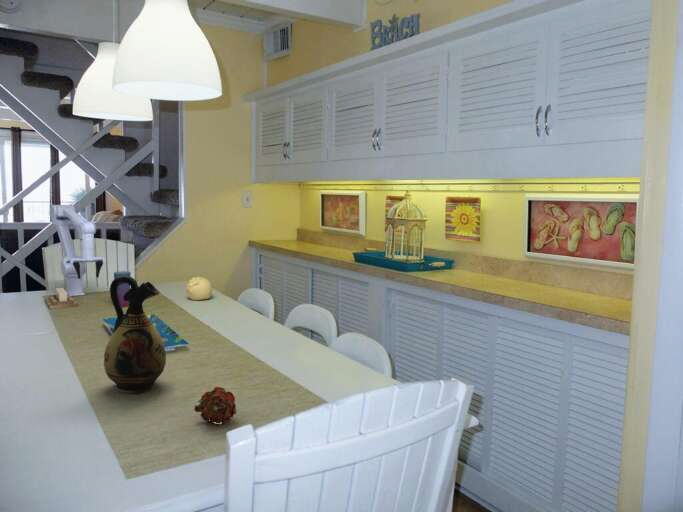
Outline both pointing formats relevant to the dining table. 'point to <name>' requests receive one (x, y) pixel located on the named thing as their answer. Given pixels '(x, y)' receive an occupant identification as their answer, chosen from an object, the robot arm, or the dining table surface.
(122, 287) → the cup
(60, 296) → the clay bar
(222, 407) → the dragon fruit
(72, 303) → the rack
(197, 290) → the sculpture
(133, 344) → the ceramic jug
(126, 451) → the dining table surface
